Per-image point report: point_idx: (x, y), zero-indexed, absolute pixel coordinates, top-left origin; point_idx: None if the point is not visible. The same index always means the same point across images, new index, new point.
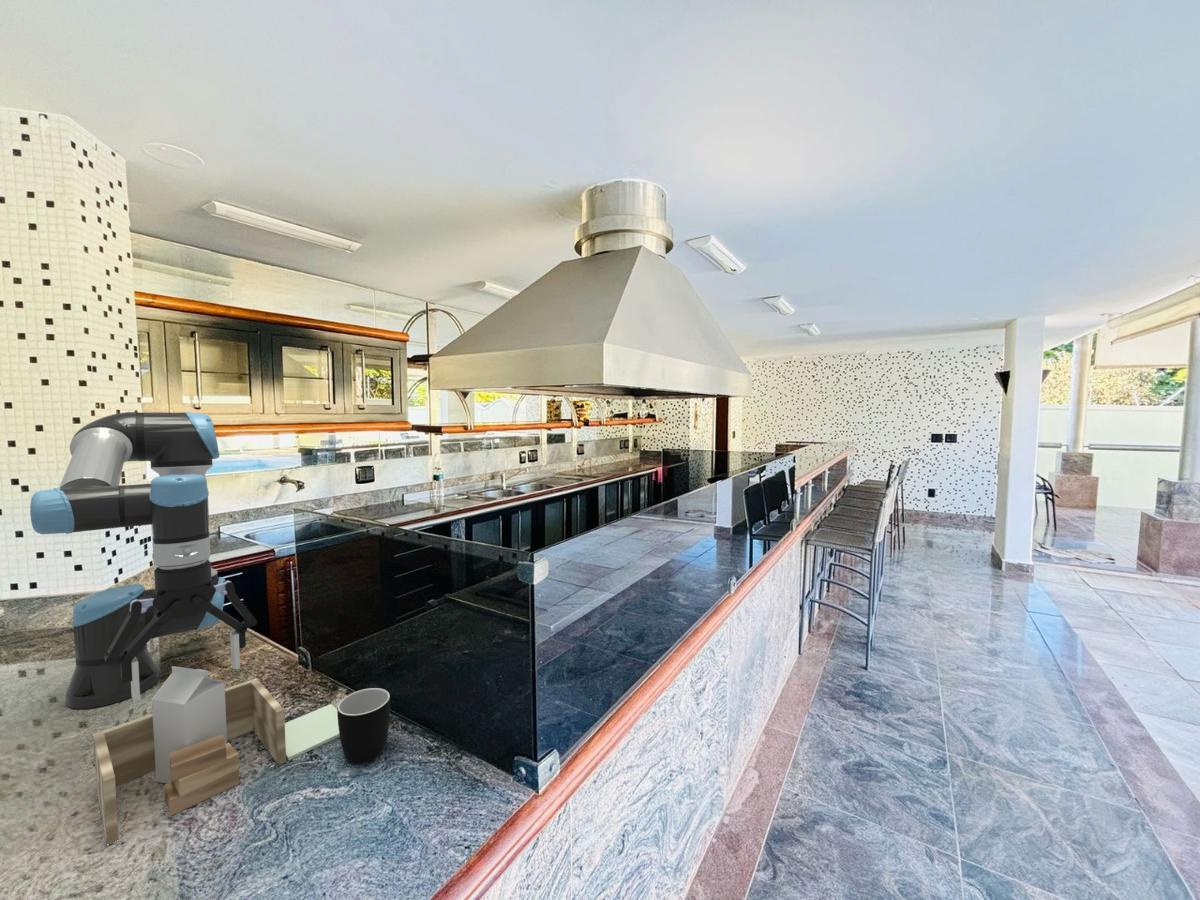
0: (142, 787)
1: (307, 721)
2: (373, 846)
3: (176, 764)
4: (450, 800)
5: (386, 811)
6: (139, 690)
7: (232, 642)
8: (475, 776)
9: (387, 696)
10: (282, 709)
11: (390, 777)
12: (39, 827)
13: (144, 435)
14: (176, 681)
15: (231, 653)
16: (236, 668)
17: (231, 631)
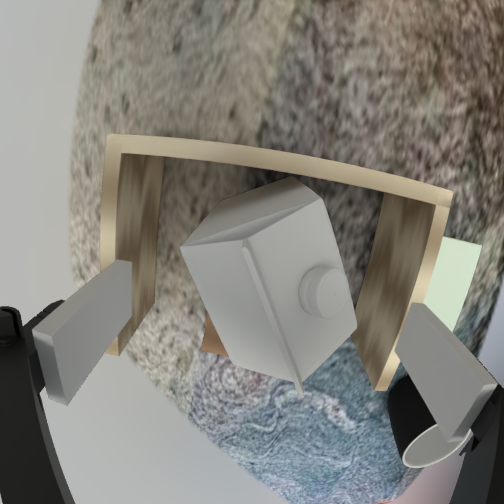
0: (201, 196)
1: (437, 263)
2: (309, 480)
3: (209, 349)
4: (373, 481)
5: (343, 465)
6: (118, 332)
7: (444, 392)
8: (405, 473)
9: (456, 443)
10: (385, 388)
11: (382, 439)
12: (93, 174)
13: None
14: (241, 291)
15: (429, 337)
16: (397, 353)
17: (484, 391)
